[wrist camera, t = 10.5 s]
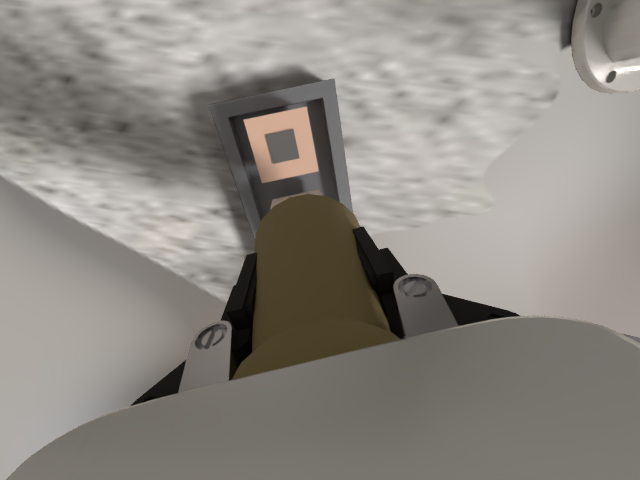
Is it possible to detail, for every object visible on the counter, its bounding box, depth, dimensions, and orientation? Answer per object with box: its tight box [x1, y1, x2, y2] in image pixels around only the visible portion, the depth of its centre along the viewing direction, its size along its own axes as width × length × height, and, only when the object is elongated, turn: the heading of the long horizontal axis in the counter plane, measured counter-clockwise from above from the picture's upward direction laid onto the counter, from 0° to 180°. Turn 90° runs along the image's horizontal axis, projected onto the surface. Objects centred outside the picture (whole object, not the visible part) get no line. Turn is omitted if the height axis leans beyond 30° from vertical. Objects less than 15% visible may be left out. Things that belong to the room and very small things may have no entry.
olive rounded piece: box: [232, 194, 400, 380], centre depth 9 cm, size 6×6×11 cm
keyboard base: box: [209, 79, 353, 239], centre depth 23 cm, size 9×19×2 cm, turn 11°
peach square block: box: [244, 107, 319, 183], centre depth 18 cm, size 4×4×3 cm
